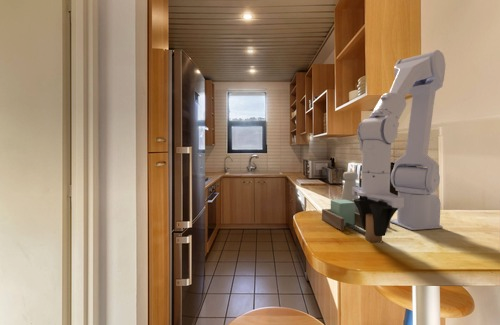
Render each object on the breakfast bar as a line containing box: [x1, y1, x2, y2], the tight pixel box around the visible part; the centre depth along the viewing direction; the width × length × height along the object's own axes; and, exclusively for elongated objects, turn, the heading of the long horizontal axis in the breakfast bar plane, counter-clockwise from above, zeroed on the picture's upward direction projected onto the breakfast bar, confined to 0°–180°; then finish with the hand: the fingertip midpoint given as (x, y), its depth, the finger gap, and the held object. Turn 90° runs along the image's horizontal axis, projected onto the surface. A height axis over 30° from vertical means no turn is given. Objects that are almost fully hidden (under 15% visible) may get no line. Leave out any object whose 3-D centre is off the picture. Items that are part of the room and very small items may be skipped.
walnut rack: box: [321, 208, 391, 231], centre depth 72 cm, size 14×10×3 cm
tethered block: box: [330, 199, 383, 243], centre depth 66 cm, size 4×17×6 cm, turn 12°
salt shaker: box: [340, 171, 359, 202], centre depth 82 cm, size 6×6×13 cm
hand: (373, 232), depth 59 cm, fingers closed on tethered block, 3 cm apart
